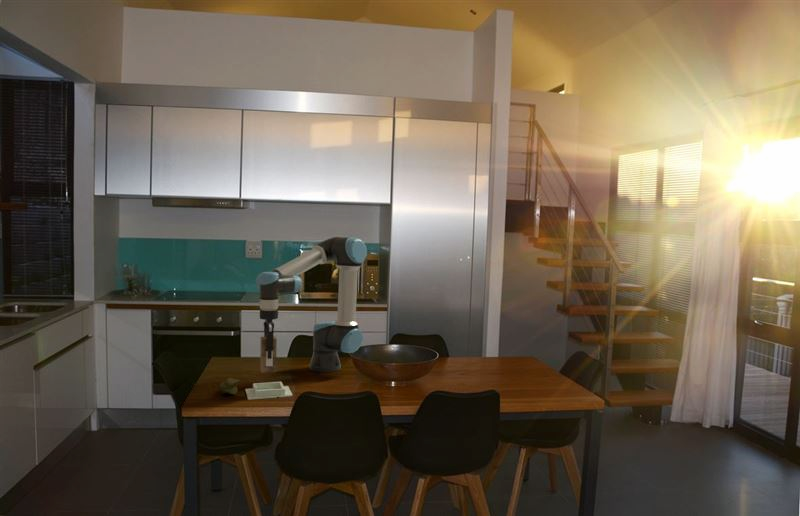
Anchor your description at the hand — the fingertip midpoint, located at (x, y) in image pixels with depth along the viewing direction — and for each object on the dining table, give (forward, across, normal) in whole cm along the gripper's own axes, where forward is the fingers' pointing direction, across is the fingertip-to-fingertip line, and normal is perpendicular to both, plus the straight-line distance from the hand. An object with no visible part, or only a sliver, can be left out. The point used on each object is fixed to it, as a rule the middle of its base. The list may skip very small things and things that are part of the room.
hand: (268, 364), depth 257 cm
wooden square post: (+3, 0, 0) cm, 3 cm away
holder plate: (+12, 0, 0) cm, 12 cm away
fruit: (+13, -4, -16) cm, 21 cm away
